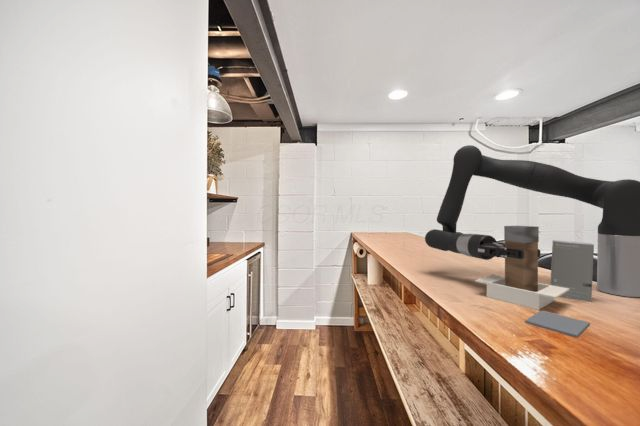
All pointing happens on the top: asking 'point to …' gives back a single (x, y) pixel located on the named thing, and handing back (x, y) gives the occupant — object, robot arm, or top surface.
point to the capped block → (526, 269)
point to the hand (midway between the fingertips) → (531, 254)
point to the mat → (558, 323)
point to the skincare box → (573, 268)
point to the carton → (521, 293)
